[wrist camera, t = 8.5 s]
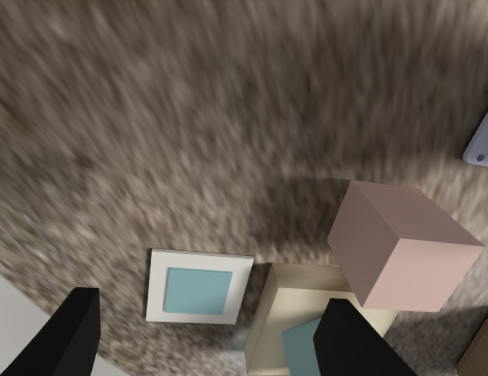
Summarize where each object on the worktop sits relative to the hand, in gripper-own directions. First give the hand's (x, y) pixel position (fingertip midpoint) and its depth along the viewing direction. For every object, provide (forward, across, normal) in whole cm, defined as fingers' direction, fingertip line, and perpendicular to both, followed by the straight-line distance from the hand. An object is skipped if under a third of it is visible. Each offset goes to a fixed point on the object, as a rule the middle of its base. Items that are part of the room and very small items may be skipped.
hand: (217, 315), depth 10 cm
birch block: (+11, -10, +12) cm, 19 cm away
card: (+10, 0, +10) cm, 15 cm away
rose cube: (+10, -12, +2) cm, 16 cm away
